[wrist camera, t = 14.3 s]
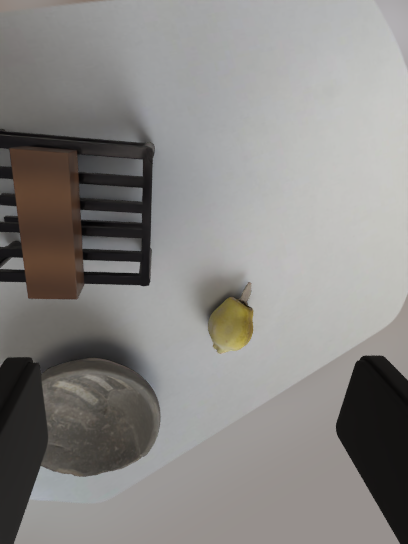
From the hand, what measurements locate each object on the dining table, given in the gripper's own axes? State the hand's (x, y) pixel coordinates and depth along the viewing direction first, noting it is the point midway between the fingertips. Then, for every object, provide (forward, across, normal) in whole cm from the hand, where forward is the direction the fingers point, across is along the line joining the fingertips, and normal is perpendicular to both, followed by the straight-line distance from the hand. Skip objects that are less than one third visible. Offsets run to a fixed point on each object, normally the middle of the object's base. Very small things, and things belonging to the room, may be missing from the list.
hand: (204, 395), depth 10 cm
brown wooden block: (+23, +10, +1) cm, 25 cm away
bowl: (+32, +9, +28) cm, 44 cm away
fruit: (+32, -9, +15) cm, 37 cm away
